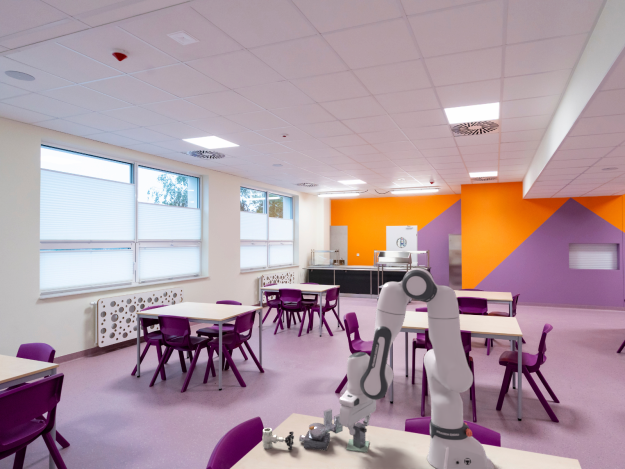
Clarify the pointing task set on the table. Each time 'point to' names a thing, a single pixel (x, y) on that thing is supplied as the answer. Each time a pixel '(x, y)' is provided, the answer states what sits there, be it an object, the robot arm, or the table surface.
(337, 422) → the silver rounded housing
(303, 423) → the table surface
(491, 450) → the table surface
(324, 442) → the block
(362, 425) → the grey tabbed block
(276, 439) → the valve
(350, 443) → the felt pad
